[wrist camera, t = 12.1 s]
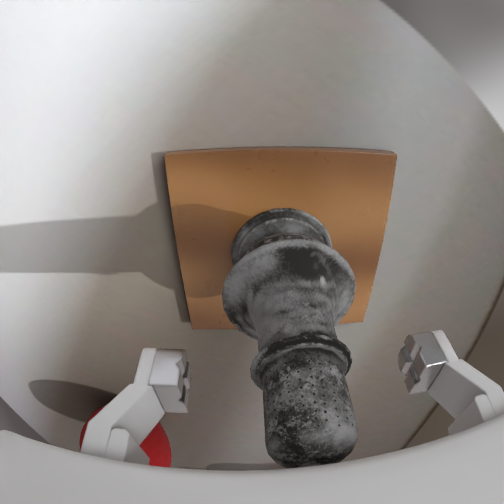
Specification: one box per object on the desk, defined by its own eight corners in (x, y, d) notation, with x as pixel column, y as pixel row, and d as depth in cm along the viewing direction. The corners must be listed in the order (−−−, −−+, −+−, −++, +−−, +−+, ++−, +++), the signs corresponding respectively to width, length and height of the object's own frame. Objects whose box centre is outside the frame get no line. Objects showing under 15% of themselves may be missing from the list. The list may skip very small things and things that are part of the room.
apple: (77, 382, 25) (48, 474, 16) (168, 395, 25) (153, 501, 17) (105, 426, 30) (89, 501, 21) (181, 437, 30) (174, 518, 22)
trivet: (166, 152, 14) (163, 155, 14) (392, 151, 14) (397, 154, 14) (193, 322, 20) (192, 329, 20) (360, 315, 20) (363, 322, 20)
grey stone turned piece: (255, 310, 19) (263, 518, 9) (204, 231, 16) (162, 484, 6) (349, 273, 18) (422, 480, 7) (315, 183, 15) (426, 430, 5)
